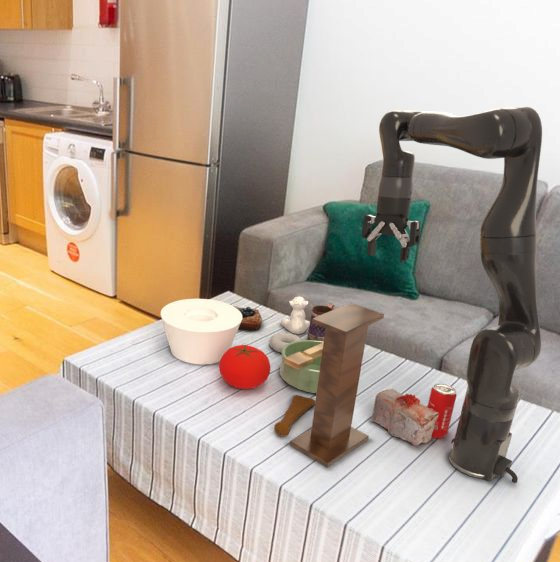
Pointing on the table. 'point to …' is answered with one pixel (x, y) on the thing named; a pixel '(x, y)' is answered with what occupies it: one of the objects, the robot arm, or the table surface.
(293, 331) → the white creature statuette
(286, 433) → the primitive tool
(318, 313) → the mug
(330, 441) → the stand
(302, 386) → the mixing bowl
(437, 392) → the beverage can
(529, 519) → the table surface
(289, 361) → the wooden paddle
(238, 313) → the white tapered cylinder
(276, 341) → the donut
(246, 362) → the tomato
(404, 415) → the food item
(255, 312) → the pastry
